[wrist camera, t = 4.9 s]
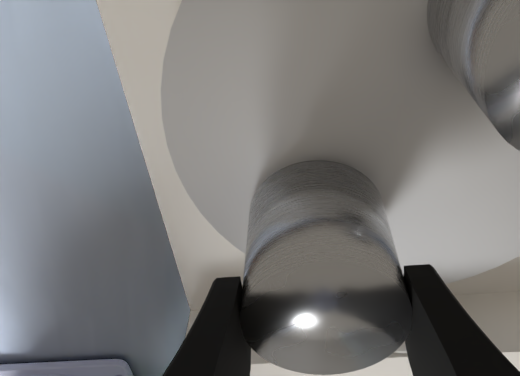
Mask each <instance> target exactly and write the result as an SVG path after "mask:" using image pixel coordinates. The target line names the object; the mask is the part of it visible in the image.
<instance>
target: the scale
mask: <svg viewBox="0 0 520 376" xmlns="http://www.w3.org/2000/svg"><path fill="white" fill-rule="evenodd" d="M96 2H97V5H98V8H99V11H100V15H101V18H102V21H103V25H104V28H105V31H106V34H107V38H108V41H109V44H110V48H111V51H112V54H113V57H114V61H115V64H116V67H117V71H118V74H119V77H120V80H121V84H122V87H123V90H124V94H125V97H126V100H127V104H128V107H129V110H130V113H131V117H132V120H133V123H134V127H135V130H136V133H137V136H138V140H139V143H140V146H141V150H142V153H143V156H144V159H145V163H146V166H147V169H148V173H149V176H150V179H151V182H152V186H153V189H154V192H155V196H156V199H157V202H158V205H159V209H160V212H161V215H162V219H163V222H164V225H165V228H166V232H167V235H168V238H169V242H170V245H171V248H172V251H173V255H174V258H175V261H176V265H177V268H178V271H179V274H180V278H181V281H182V284H183V288H184V291H185V294H186V297H187V301H188V304H189V307H190V316H189V321H188V326H187V331H186V336H187V334H188V332H189V330H190V329H191V327H192V325H193V323H194V321H195V319H196V317H197V315H198V313H199V311H200V309H201V307H202V305H203V303H204V301H205V299H206V297H207V295H208V292H209V290H210V288H211V285H212V283H213V281H214V280H215V279H216V278H222V277H237V276H240V277H241V282H242V287H243V277H244V265H245V254H246V243H247V232H248V220H249V210H250V204H251V201H252V198H253V196H254V194H255V192H256V190H257V189H258V188H259V186H260V185H261V184H262V183H263V182H264V181H265V180H266V179H267V178H268V177H269V176H271V175H272V174H273V173H275V172H277V171H278V170H280V169H282V168H284V167H287V166H289V165H292V164H295V163H299V162H304V161H312V160H327V161H334V162H339V163H342V164H346V165H348V166H351V167H353V168H355V169H357V170H358V171H360V172H362V173H363V174H364V175H366V176H367V177H368V178H369V179H370V180H371V181H372V182H373V183H374V185H375V186H376V187H377V189H378V191H379V193H380V195H381V198H382V201H383V205H384V208H385V212H386V215H387V219H388V223H389V226H390V230H391V234H392V237H393V241H394V245H395V248H396V252H397V255H398V259H399V263H400V266H401V270H402V274H403V277H404V266H408V265H424V264H430V265H431V266H433V267H434V268H435V270H436V271H437V273H438V274H439V276H440V277H441V279H442V280H443V281H444V283H445V284H446V286H447V287H448V288H449V290H450V291H451V292H452V294H453V295H454V296H455V298H456V299H457V300H458V302H459V303H460V304H461V305H462V307H463V308H464V309H465V311H466V312H467V313H468V314H469V316H470V317H471V318H472V319H473V320H474V322H475V323H476V324H477V325H478V326H479V327H480V329H481V330H482V331H483V332H484V333H485V334H486V336H487V337H488V338H489V339H490V340H491V341H492V343H493V344H494V345H495V346H496V347H497V348H498V349H499V350H500V351H501V353H502V354H503V355H504V356H505V357H506V358H507V359H508V360H509V361H510V362H511V363H512V364H513V365H514V366H515V367H516V368H517V369H518V370H519V371H520V151H519V150H517V149H516V148H514V147H513V146H512V145H510V144H509V143H508V142H507V141H506V140H505V139H504V138H503V137H502V136H501V135H500V134H499V133H498V131H497V130H496V129H495V127H494V126H493V125H492V123H491V122H490V121H489V119H488V118H487V117H486V115H485V114H484V113H483V111H482V110H481V109H480V108H479V106H478V105H477V104H476V102H475V101H474V100H473V98H472V97H471V96H470V94H469V93H468V92H467V90H466V89H465V88H464V86H463V85H462V84H461V82H460V81H459V80H458V79H457V77H456V76H455V75H454V73H453V72H452V71H451V69H450V68H449V67H448V65H447V64H446V63H445V61H444V60H443V59H442V57H441V56H440V55H439V53H438V52H437V50H436V49H435V46H434V44H433V42H432V40H431V37H430V33H429V29H428V22H427V6H428V0H96ZM186 336H185V338H186ZM250 376H413V374H412V370H411V367H410V364H409V360H408V355H407V350H406V345H405V341H404V342H403V344H402V345H401V346H400V347H399V348H398V349H397V350H396V351H395V352H394V353H392V354H391V355H390V356H388V357H387V358H385V359H384V360H382V361H380V362H378V363H376V364H374V365H372V366H369V367H367V368H364V369H361V370H357V371H354V372H348V373H343V374H334V375H313V374H305V373H299V372H294V371H291V370H287V369H284V368H281V367H279V366H276V365H274V364H272V363H270V362H268V361H267V360H265V359H264V358H262V357H261V356H259V355H258V354H257V353H256V352H255V351H254V350H253V349H252V348H251V370H250Z"/></svg>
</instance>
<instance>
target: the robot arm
mask: <svg viewBox="0 0 520 376" xmlns="http://www.w3.org/2000/svg"><path fill="white" fill-rule="evenodd" d="M404 281H405V284H406V288H407V292H408V295H409V299H410V303H411V306H412V324H411V330H410V332H409V334H408V336H407V338H406V340H405V345H406V350H407V355H408V360H409V364H410V367H411V370H412V374H413V376H520V371H519V370H518V369H517V368H516V367H515V366H514V365H513V364H512V363H511V362H510V361H509V360H508V359H507V358H506V357H505V356H504V355H503V354H502V353H501V351H500V350H499V349H498V348H497V347H496V346H495V345H494V344H493V343H492V341H491V340H490V339H489V338H488V337H487V336H486V334H485V333H484V332H483V331H482V330H481V329H480V327H479V326H478V325H477V324H476V323H475V322H474V320H473V319H472V318H471V317H470V316H469V314H468V313H467V312H466V311H465V309H464V308H463V307H462V305H461V304H460V303H459V302H458V300H457V299H456V298H455V296H454V295H453V294H452V292H451V291H450V290H449V288H448V287H447V286H446V284H445V283H444V281H443V280H442V279H441V277H440V276H439V274H438V273H437V271H436V270H435V268H434V267H433V266H431V265H430V264H424V265H408V266H404ZM242 288H243V287H242V282H241V277H240V276H237V277H222V278H216V279H215V280H214V281H213V283H212V285H211V288H210V290H209V292H208V295H207V297H206V299H205V301H204V303H203V305H202V307H201V309H200V311H199V313H198V315H197V317H196V319H195V321H194V323H193V325H192V327H191V329H190V330H189V332H188V334H187V336H186V338H185V339H184V341H183V343H182V345H181V347H180V348H179V350H178V352H177V353H176V355H175V357H174V358H173V360H172V361H171V363H170V365H169V366H168V368H167V369H166V371H165V373H164V374H163V376H250V370H251V347H250V346H249V345H248V343H247V342H246V340H245V338H244V336H243V332H242V328H241V323H240V311H241V299H242ZM0 376H133V374H132V372H131V369H130V367H129V365H128V364H127V362H125V361H124V360H121V359H101V360H81V361H60V362H40V363H20V364H0Z"/></svg>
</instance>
